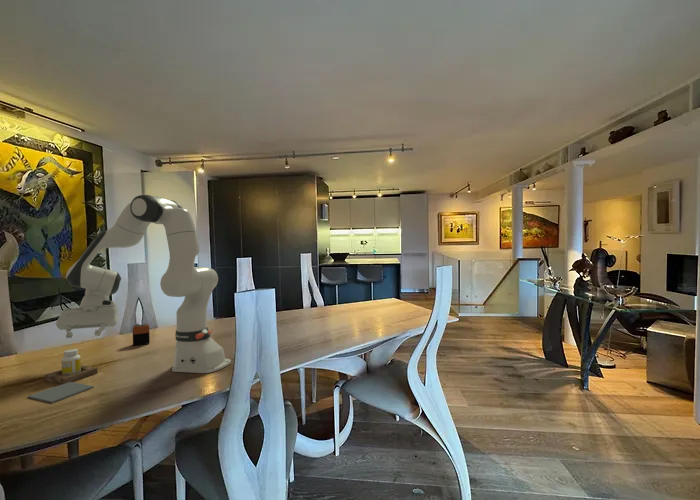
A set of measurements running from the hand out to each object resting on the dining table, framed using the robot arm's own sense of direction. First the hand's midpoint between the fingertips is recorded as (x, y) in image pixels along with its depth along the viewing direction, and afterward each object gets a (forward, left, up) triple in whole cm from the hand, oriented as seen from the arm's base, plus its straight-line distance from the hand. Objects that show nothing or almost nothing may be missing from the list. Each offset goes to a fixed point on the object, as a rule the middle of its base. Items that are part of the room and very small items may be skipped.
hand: (82, 336), depth 134 cm
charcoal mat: (-18, +18, -12) cm, 28 cm away
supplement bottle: (-6, +8, -13) cm, 16 cm away
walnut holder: (-6, +8, -12) cm, 16 cm away
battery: (+8, -31, -13) cm, 35 cm away
